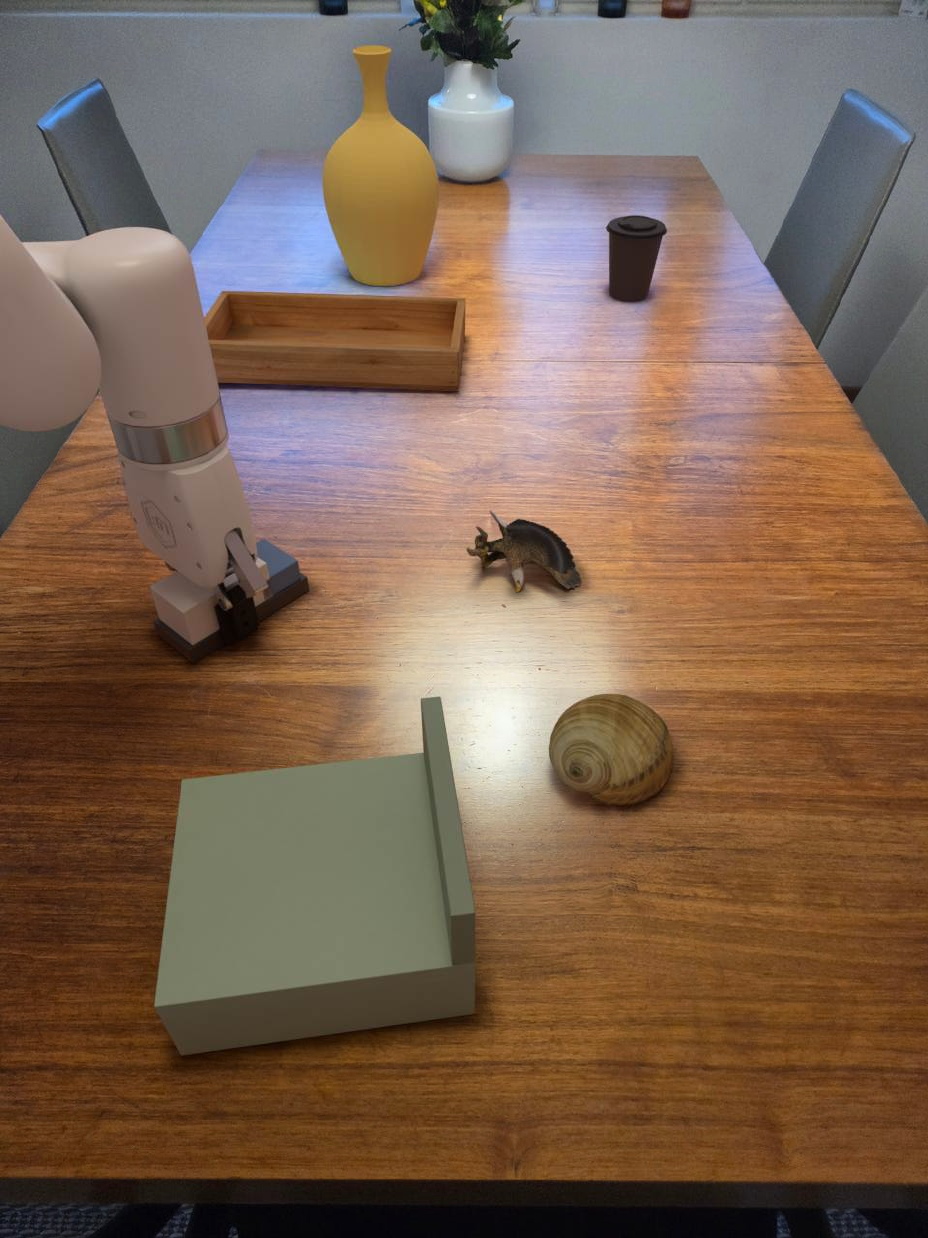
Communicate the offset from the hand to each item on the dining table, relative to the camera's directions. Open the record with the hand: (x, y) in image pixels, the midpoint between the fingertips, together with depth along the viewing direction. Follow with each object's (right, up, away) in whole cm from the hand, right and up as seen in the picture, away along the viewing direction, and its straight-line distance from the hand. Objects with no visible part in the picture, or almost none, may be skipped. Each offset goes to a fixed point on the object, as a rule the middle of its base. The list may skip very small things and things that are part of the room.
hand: (219, 617), depth 72 cm
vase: (+9, +51, +56) cm, 76 cm away
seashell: (+30, -10, -11) cm, 34 cm away
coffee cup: (+43, +45, +50) cm, 80 cm away
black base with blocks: (+1, 0, +1) cm, 2 cm away
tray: (+5, +31, +35) cm, 47 cm away
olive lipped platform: (+12, -18, -19) cm, 29 cm away
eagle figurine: (+26, +3, +4) cm, 26 cm away
